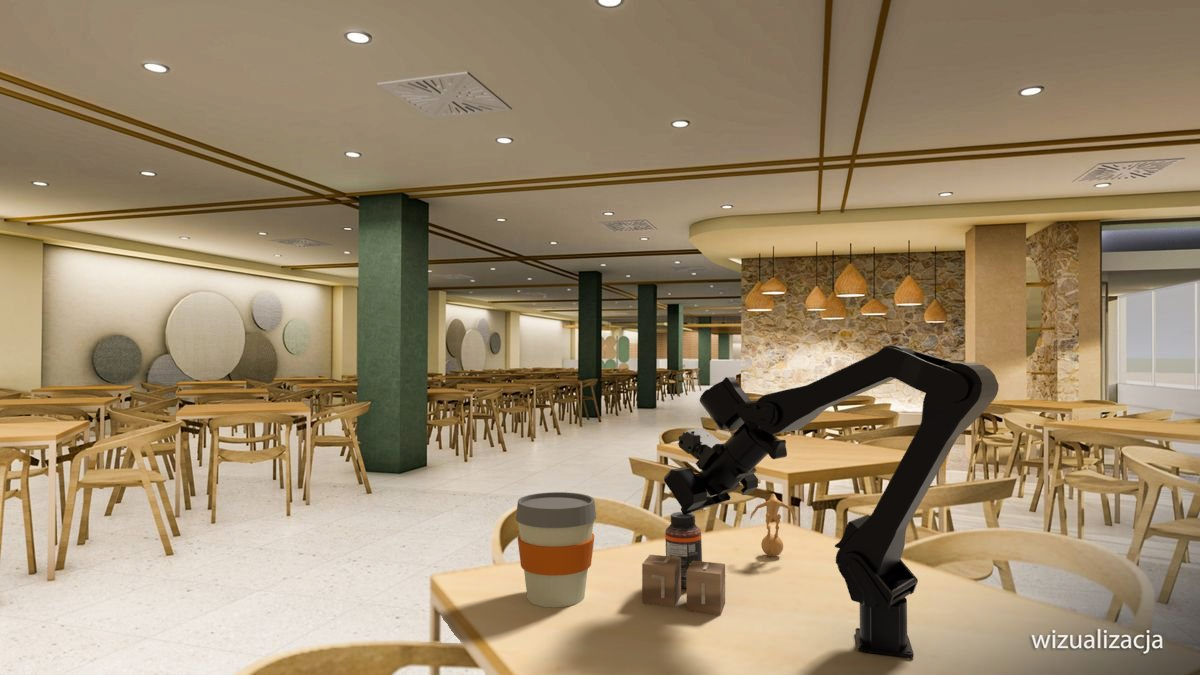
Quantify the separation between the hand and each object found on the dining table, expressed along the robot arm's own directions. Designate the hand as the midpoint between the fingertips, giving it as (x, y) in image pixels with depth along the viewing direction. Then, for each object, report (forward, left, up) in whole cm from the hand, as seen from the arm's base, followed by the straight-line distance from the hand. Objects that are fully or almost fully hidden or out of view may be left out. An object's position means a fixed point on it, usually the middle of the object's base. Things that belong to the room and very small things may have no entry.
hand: (683, 511), depth 110 cm
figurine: (+19, -13, -12) cm, 26 cm away
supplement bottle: (0, 0, -12) cm, 12 cm away
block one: (-9, -5, -12) cm, 16 cm away
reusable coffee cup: (-12, +18, -12) cm, 25 cm away
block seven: (-8, +2, -12) cm, 14 cm away
